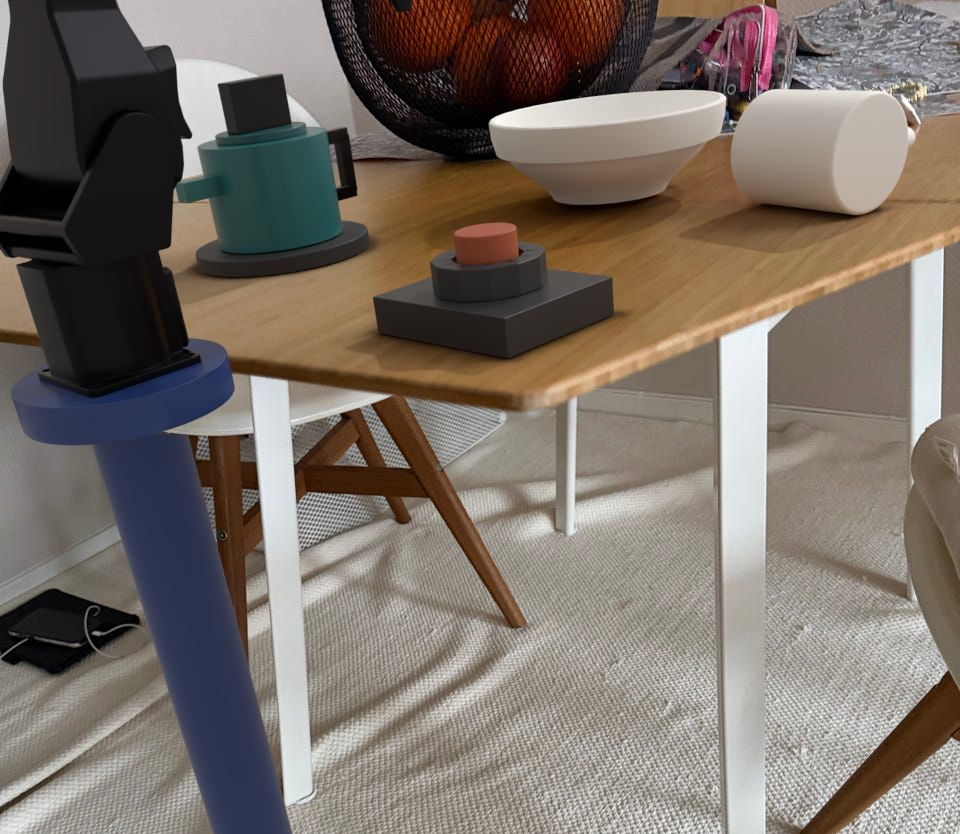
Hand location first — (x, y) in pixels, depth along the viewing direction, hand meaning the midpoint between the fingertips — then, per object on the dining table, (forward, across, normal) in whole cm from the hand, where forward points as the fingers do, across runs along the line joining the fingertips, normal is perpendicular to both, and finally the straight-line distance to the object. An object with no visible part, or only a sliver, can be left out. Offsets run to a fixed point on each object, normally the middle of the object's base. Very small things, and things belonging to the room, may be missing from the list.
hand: (452, 6), depth 67 cm
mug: (+16, -11, -27) cm, 33 cm away
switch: (+13, -10, +8) cm, 18 cm away
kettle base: (+16, +22, +2) cm, 27 cm away
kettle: (+15, +22, +2) cm, 26 cm away
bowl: (+16, +8, -24) cm, 30 cm away
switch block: (+16, -10, +8) cm, 20 cm away
